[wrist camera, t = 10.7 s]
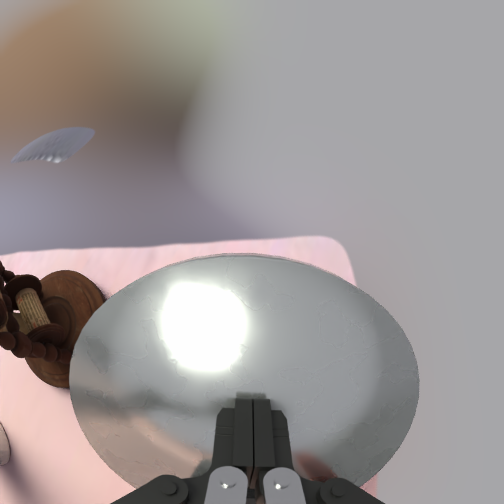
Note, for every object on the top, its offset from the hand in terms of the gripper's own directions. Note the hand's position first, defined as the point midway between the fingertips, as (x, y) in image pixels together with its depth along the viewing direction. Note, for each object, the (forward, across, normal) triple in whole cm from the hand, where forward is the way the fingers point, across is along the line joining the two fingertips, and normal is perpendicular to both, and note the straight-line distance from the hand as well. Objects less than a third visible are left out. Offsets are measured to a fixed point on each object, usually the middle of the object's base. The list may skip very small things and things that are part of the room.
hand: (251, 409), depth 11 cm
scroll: (+16, -22, -10) cm, 30 cm away
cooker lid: (+1, 0, -3) cm, 3 cm away
